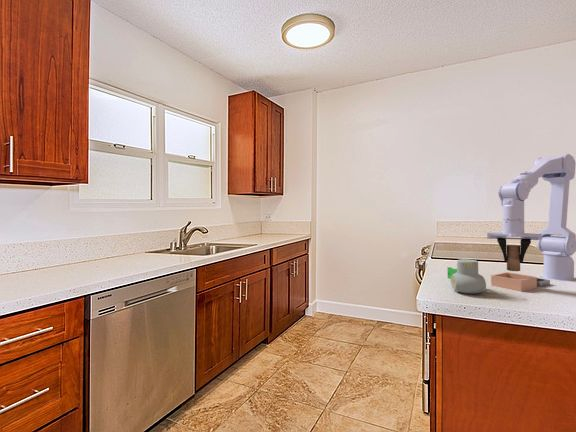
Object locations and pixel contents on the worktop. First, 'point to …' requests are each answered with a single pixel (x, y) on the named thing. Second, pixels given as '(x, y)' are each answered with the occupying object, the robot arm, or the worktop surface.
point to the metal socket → (542, 282)
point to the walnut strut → (513, 257)
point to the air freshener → (468, 277)
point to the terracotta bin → (514, 281)
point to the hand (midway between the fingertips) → (513, 261)
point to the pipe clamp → (451, 271)
